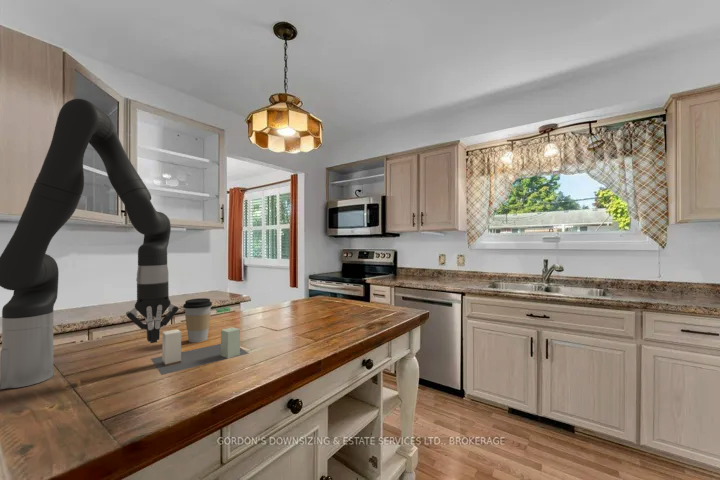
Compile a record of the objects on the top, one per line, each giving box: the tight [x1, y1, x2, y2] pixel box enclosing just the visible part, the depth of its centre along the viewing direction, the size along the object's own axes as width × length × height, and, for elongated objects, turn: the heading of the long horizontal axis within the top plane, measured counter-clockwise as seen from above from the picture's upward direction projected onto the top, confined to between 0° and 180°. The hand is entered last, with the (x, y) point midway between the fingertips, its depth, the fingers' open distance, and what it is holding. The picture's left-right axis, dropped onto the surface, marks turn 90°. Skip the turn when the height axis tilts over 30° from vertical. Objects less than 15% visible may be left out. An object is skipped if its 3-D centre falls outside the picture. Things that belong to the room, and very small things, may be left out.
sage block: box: [220, 326, 241, 359], centre depth 99 cm, size 4×4×8 cm
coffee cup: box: [182, 297, 213, 344], centre depth 114 cm, size 9×9×15 cm
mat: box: [150, 343, 250, 376], centre depth 98 cm, size 24×16×1 cm, turn 132°
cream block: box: [161, 328, 182, 366], centre depth 93 cm, size 4×4×9 cm
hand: (153, 342), depth 90 cm, fingers closed
